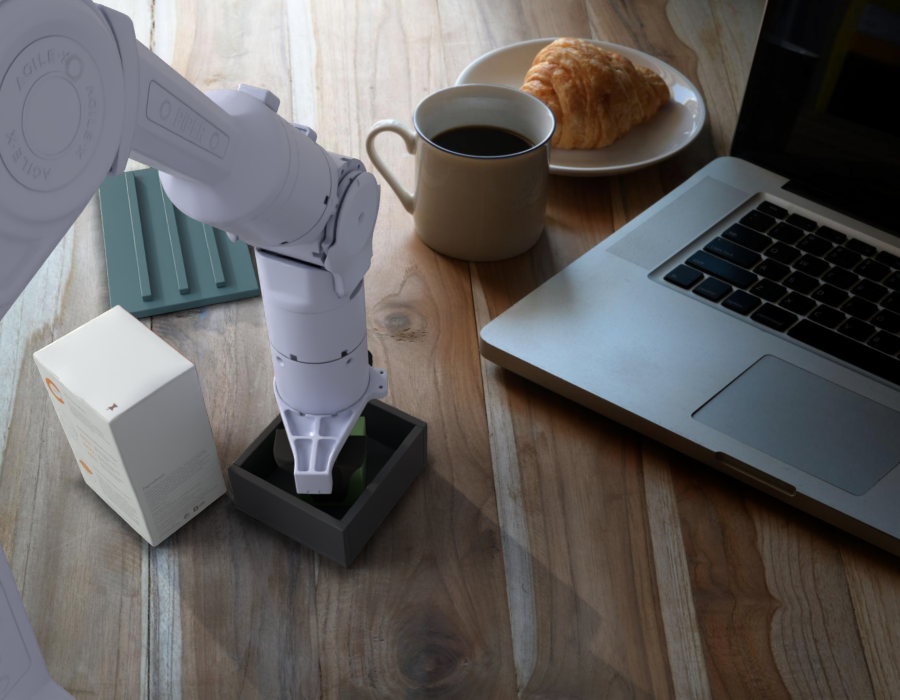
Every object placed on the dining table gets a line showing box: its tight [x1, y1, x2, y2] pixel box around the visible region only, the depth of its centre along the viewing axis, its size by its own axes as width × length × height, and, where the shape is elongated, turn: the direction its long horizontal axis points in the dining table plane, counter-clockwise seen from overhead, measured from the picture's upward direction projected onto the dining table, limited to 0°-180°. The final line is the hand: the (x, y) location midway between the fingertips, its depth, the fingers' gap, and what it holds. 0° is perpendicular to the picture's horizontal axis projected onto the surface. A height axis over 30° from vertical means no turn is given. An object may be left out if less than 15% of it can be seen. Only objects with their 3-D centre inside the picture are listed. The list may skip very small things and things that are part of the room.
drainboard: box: [98, 167, 261, 319], centre depth 83 cm, size 20×12×1 cm, turn 18°
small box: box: [32, 305, 228, 548], centre depth 60 cm, size 8×6×13 cm
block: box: [298, 417, 367, 506], centre depth 64 cm, size 4×4×4 cm
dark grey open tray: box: [226, 399, 429, 570], centre depth 64 cm, size 10×9×4 cm
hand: (332, 468), depth 64 cm, fingers closed on block, 4 cm apart
